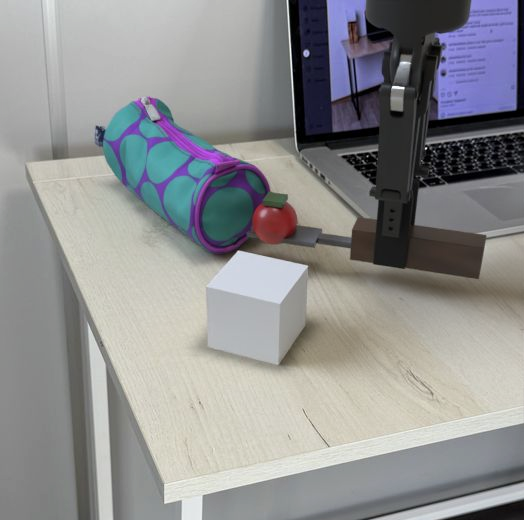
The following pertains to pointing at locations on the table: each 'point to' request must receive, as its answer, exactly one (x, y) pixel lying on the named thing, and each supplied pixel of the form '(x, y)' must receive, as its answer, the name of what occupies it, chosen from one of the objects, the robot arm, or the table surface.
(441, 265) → the brown handled tool
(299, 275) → the white cube
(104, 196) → the table surface
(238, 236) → the pencil case
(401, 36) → the robot arm
